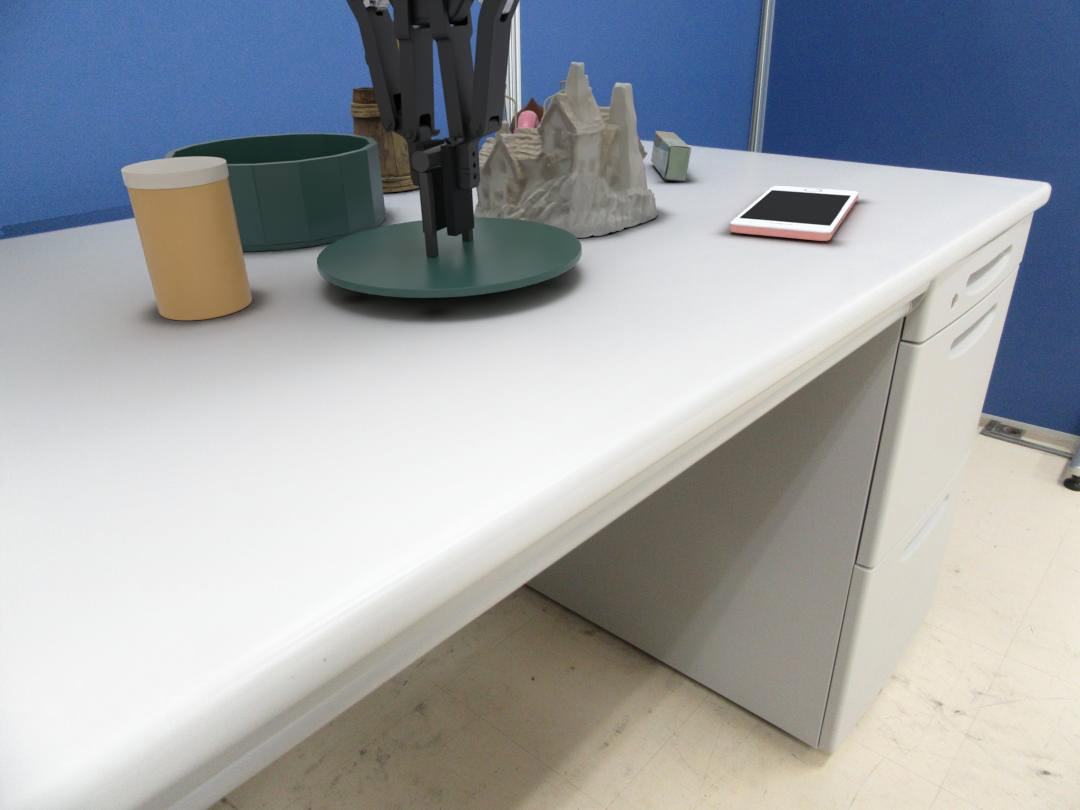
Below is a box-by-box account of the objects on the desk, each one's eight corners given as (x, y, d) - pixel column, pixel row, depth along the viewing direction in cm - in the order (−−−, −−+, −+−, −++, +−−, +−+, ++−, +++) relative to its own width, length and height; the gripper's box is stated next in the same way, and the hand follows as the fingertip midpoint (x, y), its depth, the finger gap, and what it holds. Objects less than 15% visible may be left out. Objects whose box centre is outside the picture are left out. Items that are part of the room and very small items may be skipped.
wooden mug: (441, 171, 103) (428, 19, 95) (417, 193, 91) (401, 20, 83) (374, 172, 104) (357, 21, 96) (342, 193, 92) (319, 23, 84)
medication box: (686, 182, 93) (692, 147, 91) (664, 180, 93) (669, 145, 91) (669, 162, 104) (674, 130, 102) (649, 161, 104) (654, 129, 102)
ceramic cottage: (681, 213, 78) (677, 48, 72) (555, 252, 69) (538, 67, 63) (576, 200, 89) (565, 56, 83) (457, 232, 80) (434, 73, 74)
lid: (260, 284, 58) (236, 159, 54) (420, 222, 74) (410, 122, 70) (499, 323, 50) (492, 178, 46) (621, 243, 66) (623, 131, 62)
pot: (139, 238, 76) (118, 158, 72) (283, 198, 91) (271, 129, 88) (291, 260, 67) (276, 171, 64) (422, 212, 83) (415, 137, 79)
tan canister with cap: (137, 313, 56) (98, 170, 52) (209, 286, 62) (180, 154, 57) (202, 326, 54) (167, 176, 49) (272, 297, 59) (247, 159, 54)
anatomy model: (478, 159, 92) (486, 50, 96) (495, 217, 105) (501, 119, 109) (566, 158, 91) (570, 48, 95) (571, 216, 104) (574, 118, 108)
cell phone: (858, 199, 82) (859, 190, 82) (829, 242, 68) (830, 231, 67) (772, 193, 86) (773, 184, 85) (728, 232, 72) (728, 222, 71)
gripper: (549, -141, 50) (555, 227, 61) (367, -120, 56) (401, 212, 67) (489, -159, 44) (507, 252, 55) (292, -133, 50) (343, 232, 61)
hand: (449, 229), depth 61 cm, fingers closed on lid, 1 cm apart
